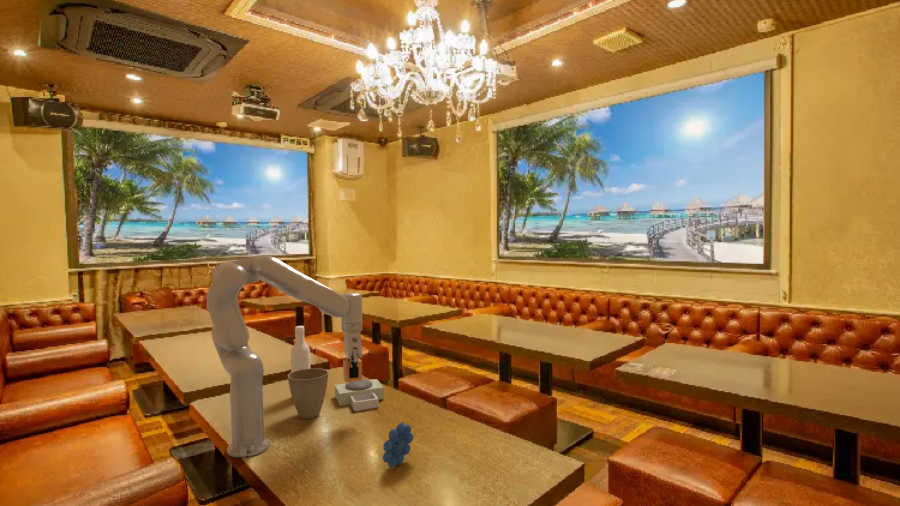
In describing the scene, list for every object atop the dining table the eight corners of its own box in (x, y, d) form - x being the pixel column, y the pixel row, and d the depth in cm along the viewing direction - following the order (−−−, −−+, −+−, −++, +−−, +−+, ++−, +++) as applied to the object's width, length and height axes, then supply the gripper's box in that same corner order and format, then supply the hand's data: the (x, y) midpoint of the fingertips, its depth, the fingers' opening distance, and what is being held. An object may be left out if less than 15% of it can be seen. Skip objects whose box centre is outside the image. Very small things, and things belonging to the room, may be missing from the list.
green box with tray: (389, 405, 184) (388, 391, 184) (343, 413, 177) (342, 398, 177) (377, 390, 203) (376, 377, 202) (335, 396, 196) (334, 383, 196)
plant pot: (332, 418, 172) (330, 376, 171) (290, 425, 167) (288, 381, 166) (327, 405, 186) (326, 366, 185) (288, 411, 181) (286, 370, 180)
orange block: (362, 380, 170) (361, 361, 170) (345, 382, 168) (345, 363, 168) (359, 376, 174) (359, 358, 174) (343, 378, 172) (343, 360, 172)
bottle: (291, 395, 198) (288, 325, 197) (310, 392, 202) (307, 324, 200) (293, 401, 191) (290, 329, 190) (312, 398, 194) (310, 327, 193)
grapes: (402, 452, 144) (402, 414, 144) (418, 459, 140) (417, 420, 140) (374, 467, 136) (373, 427, 135) (389, 474, 131) (388, 433, 131)
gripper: (367, 330, 164) (367, 380, 165) (357, 322, 180) (358, 368, 180) (345, 331, 161) (346, 383, 162) (337, 323, 177) (338, 370, 177)
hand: (352, 375), depth 171 cm, fingers closed on orange block, 4 cm apart
